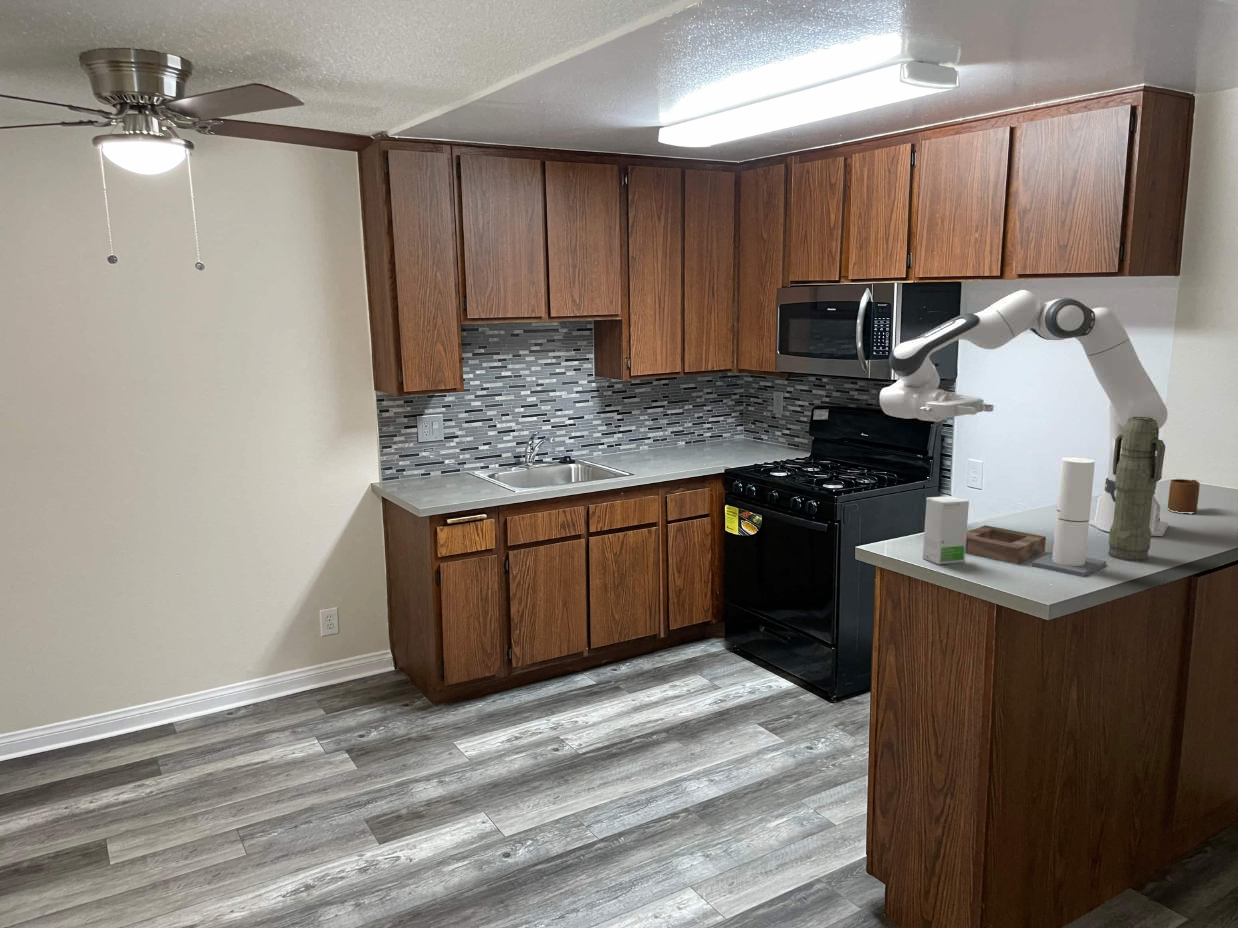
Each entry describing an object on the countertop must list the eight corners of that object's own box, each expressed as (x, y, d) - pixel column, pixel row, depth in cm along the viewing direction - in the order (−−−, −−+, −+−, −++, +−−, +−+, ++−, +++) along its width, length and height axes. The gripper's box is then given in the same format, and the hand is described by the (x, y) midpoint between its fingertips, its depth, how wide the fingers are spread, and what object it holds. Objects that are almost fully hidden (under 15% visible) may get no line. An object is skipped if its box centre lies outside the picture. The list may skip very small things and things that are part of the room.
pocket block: (984, 539, 242) (985, 525, 242) (1044, 551, 231) (1046, 536, 230) (955, 550, 232) (956, 535, 231) (1017, 564, 220) (1018, 548, 219)
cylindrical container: (1076, 557, 222) (1086, 457, 217) (1090, 566, 215) (1100, 462, 210) (1047, 557, 222) (1056, 457, 218) (1060, 565, 215) (1069, 462, 211)
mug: (1180, 505, 282) (1183, 476, 281) (1207, 510, 276) (1210, 480, 275) (1162, 511, 275) (1166, 480, 274) (1190, 515, 269) (1193, 484, 268)
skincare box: (938, 565, 219) (942, 502, 216) (920, 558, 225) (924, 497, 222) (966, 562, 222) (970, 500, 219) (948, 555, 228) (952, 494, 225)
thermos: (1143, 564, 219) (1158, 422, 213) (1095, 553, 229) (1108, 416, 223) (1161, 559, 224) (1177, 419, 218) (1113, 548, 234) (1127, 414, 228)
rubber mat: (1055, 554, 228) (1055, 551, 228) (1106, 564, 219) (1106, 560, 219) (1031, 565, 219) (1031, 561, 218) (1083, 576, 210) (1084, 572, 210)
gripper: (916, 396, 239) (966, 400, 229) (953, 391, 253) (1002, 395, 243) (914, 420, 241) (964, 425, 231) (952, 413, 254) (1000, 418, 244)
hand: (984, 409), depth 237 cm, fingers open, 8 cm apart
